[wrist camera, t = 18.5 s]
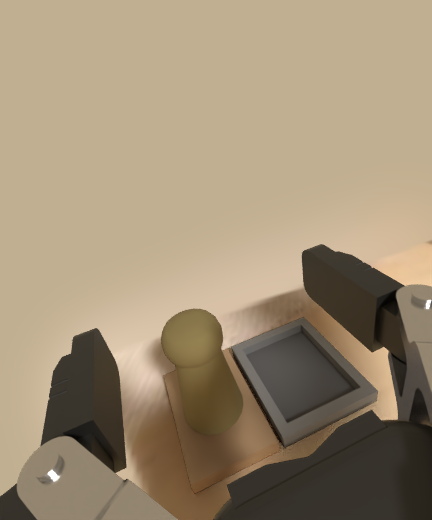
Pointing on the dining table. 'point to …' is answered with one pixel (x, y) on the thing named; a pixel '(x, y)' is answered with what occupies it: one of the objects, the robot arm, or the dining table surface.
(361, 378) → the shallow grey tray
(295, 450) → the dining table surface
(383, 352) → the dining table surface
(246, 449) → the light brown wooden board
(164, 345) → the cork
